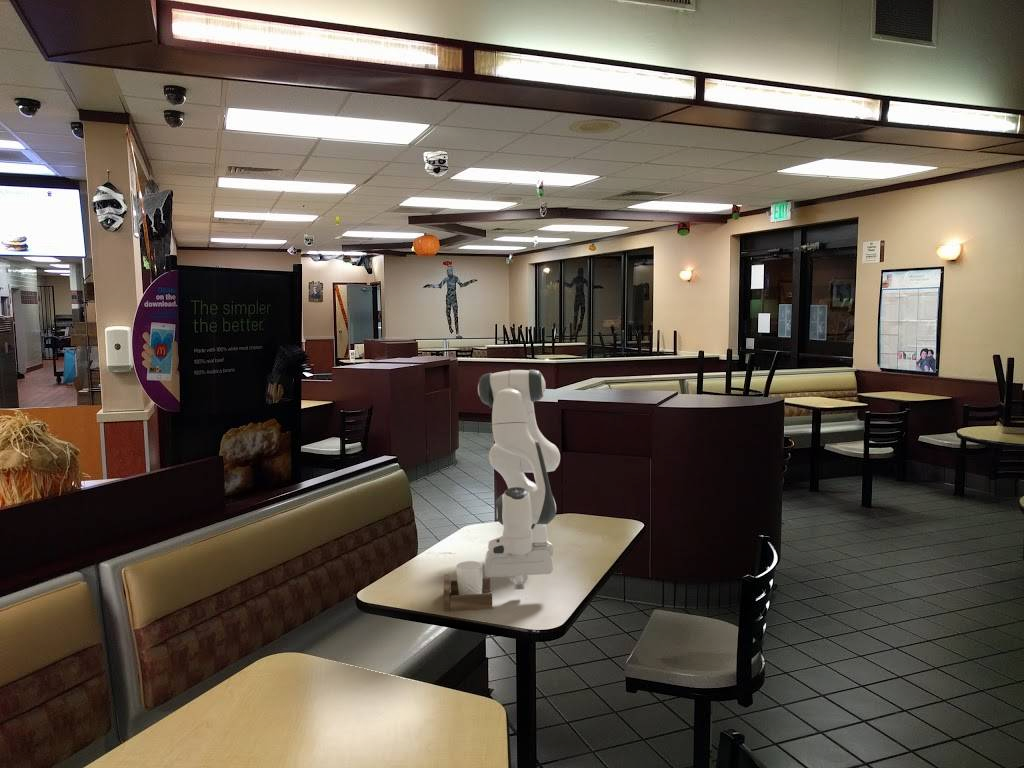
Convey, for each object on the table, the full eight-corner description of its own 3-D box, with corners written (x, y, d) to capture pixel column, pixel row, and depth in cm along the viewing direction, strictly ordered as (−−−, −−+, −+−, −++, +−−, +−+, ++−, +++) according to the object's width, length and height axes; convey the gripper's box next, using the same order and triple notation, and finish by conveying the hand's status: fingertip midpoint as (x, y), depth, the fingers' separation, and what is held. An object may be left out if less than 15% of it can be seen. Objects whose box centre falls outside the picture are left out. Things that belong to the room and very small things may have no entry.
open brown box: (445, 593, 206) (444, 573, 205) (490, 590, 207) (489, 571, 206) (444, 611, 193) (443, 590, 192) (492, 608, 194) (491, 587, 193)
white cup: (471, 605, 196) (470, 572, 195) (451, 599, 201) (450, 566, 200) (489, 596, 202) (488, 564, 201) (469, 591, 207) (468, 559, 206)
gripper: (551, 538, 203) (552, 583, 205) (483, 541, 202) (484, 586, 203) (554, 545, 197) (555, 591, 198) (484, 548, 196) (485, 595, 197)
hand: (519, 589), depth 201 cm, fingers closed
